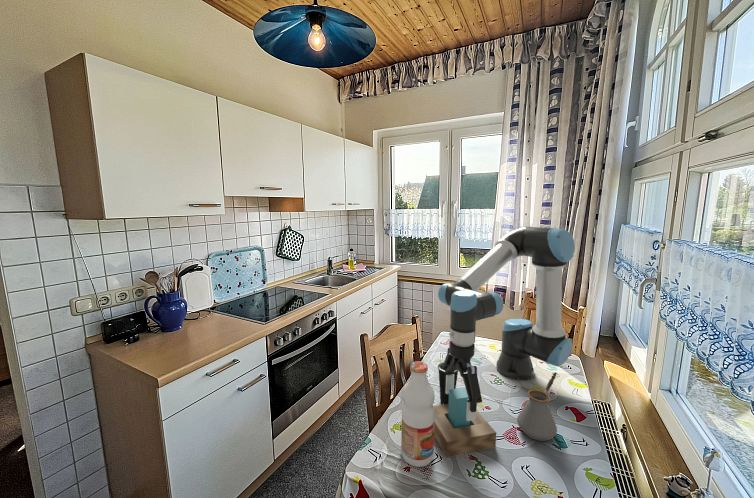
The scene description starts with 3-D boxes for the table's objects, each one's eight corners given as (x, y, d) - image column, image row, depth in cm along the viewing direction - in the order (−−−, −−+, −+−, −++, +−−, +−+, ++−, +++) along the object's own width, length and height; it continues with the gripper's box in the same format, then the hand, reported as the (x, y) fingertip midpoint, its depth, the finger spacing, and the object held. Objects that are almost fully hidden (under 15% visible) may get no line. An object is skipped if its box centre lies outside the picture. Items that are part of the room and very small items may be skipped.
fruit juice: (406, 439, 97) (407, 354, 93) (436, 447, 93) (438, 360, 90) (396, 462, 88) (397, 370, 84) (429, 472, 85) (432, 376, 81)
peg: (461, 426, 102) (463, 387, 100) (469, 437, 97) (471, 396, 96) (447, 429, 101) (449, 389, 99) (454, 440, 96) (456, 398, 94)
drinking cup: (458, 409, 111) (460, 356, 108) (436, 406, 113) (438, 354, 110) (457, 396, 119) (459, 347, 116) (436, 394, 120) (438, 345, 117)
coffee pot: (548, 451, 92) (552, 405, 90) (510, 431, 100) (513, 388, 98) (571, 419, 106) (575, 378, 104) (536, 403, 114) (539, 365, 112)
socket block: (467, 413, 109) (468, 400, 108) (495, 447, 93) (496, 432, 93) (425, 420, 105) (425, 407, 104) (446, 457, 90) (447, 441, 89)
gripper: (433, 327, 106) (432, 385, 109) (472, 362, 82) (469, 435, 85) (453, 325, 108) (451, 382, 111) (497, 359, 84) (493, 430, 87)
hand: (459, 405), depth 98 cm, fingers open, 13 cm apart
